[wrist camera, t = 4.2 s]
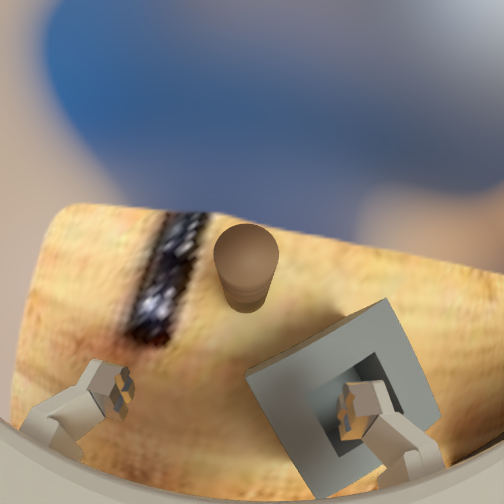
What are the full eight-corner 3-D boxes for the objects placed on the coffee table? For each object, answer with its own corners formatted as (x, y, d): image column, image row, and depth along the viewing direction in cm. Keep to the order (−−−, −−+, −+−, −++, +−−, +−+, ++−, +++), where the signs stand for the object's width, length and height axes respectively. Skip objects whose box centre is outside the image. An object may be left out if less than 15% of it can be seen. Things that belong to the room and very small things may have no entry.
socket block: (390, 404, 21) (441, 416, 13) (297, 462, 19) (317, 501, 11) (346, 316, 24) (386, 297, 16) (245, 370, 22) (244, 377, 14)
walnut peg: (273, 302, 24) (290, 267, 15) (237, 320, 24) (230, 296, 14) (255, 267, 25) (260, 214, 16) (219, 284, 25) (203, 239, 15)
